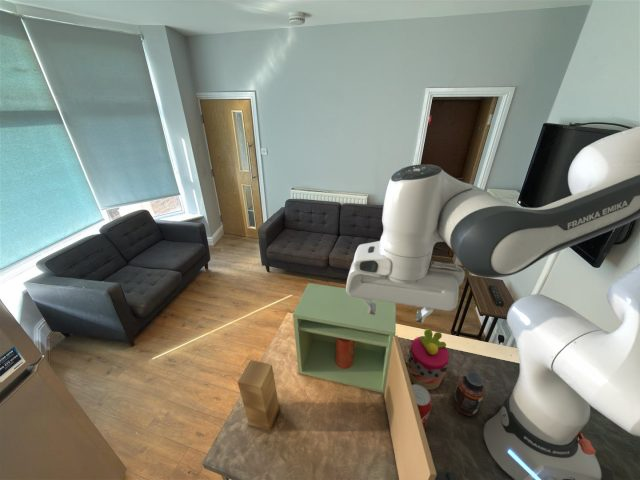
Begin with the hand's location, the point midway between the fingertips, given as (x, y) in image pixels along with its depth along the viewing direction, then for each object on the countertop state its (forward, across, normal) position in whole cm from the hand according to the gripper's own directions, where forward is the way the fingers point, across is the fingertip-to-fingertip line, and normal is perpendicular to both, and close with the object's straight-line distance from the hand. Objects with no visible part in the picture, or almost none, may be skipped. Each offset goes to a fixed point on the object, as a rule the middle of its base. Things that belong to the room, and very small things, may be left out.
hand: (395, 316), depth 53 cm
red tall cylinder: (+34, +12, -13) cm, 38 cm away
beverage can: (+35, -8, 0) cm, 36 cm away
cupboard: (+35, +12, -13) cm, 39 cm away
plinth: (+35, +30, +8) cm, 47 cm away
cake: (+35, -12, -15) cm, 40 cm away
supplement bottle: (+35, -22, -8) cm, 42 cm away
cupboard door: (+35, -7, +7) cm, 36 cm away
